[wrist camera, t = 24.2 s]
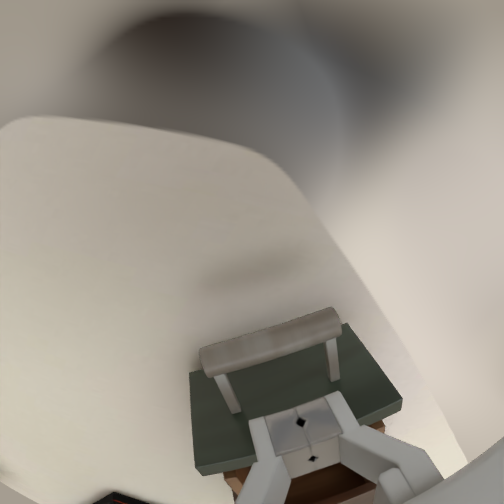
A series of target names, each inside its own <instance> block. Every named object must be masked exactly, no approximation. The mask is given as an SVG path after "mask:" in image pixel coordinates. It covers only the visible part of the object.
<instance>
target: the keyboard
mask: <svg viewBox="0 0 504 504" xmlns="http://www.w3.org/2000/svg"><path fill="white" fill-rule="evenodd" d="M93 504H149V503H146V502H142V501H139V500H136V499H133V498H130V497H127V496H124V495H121V494H119V493H115V492H113V493H111V494H109V495H108V496H106V497H104V498H102V499H101V500H99V501H97V502H95V503H93Z"/></svg>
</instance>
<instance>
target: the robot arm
mask: <svg viewBox="0 0 504 504" xmlns="http://www.w3.org/2000/svg"><path fill="white" fill-rule="evenodd" d="M249 427H250V432H251V436H252V440H253V444H254V448H255V452H256V456H257V460H258V462H255V463H253V465H252V467H251V470H250V472H249V474H248V476H247V478H246V480H245V483H244V485H243V487H242V489H241V491H240V493H239V495H238V497H237V499H236V501H235V503H234V504H284V502H285V499H286V496H287V493H288V490H289V486H290V483H291V479H293V478H296V477H299V476H302V475H304V474H307V473H310V472H313V471H316V470H319V469H322V468H325V467H328V466H330V465H333V464H336V463H339V462H341V463H342V464H343V465H345V466H347V467H348V468H350V469H352V470H353V471H355V472H356V473H358V474H360V475H361V476H363V477H365V478H367V479H368V480H370V481H372V482H373V483H375V484H377V487H376V491H375V496H374V500H373V504H504V437H503V438H502V439H500V440H499V441H498V442H497V443H495V444H494V445H493V446H492V447H491V448H489V449H488V450H487V451H485V452H484V453H483V454H481V455H480V456H479V457H477V458H476V459H474V460H473V461H472V462H470V463H469V464H467V465H466V466H465V467H463V468H462V469H460V470H459V471H457V472H456V473H454V474H453V475H451V476H450V477H448V478H446V479H445V480H444V478H443V477H442V475H441V474H440V472H439V471H438V469H437V468H436V466H435V465H434V463H433V462H432V460H431V459H430V457H429V456H428V455H427V453H426V452H425V450H423V449H421V448H418V447H416V446H413V445H410V444H408V443H406V442H403V441H401V440H398V439H396V438H393V437H391V436H389V435H386V434H384V433H382V432H380V431H377V430H375V429H373V428H370V427H368V426H366V425H362V426H360V425H359V424H358V422H357V420H356V418H355V417H354V415H353V413H352V411H351V410H350V408H349V406H348V404H347V403H346V401H345V399H344V397H343V396H342V394H341V392H339V391H336V392H334V393H331V394H328V395H326V396H324V397H323V396H322V397H320V398H317V399H314V400H312V401H309V402H306V403H303V404H301V405H298V406H295V407H294V408H291V409H287V410H284V411H281V412H277V413H274V414H270V415H266V416H265V417H264V416H263V417H259V418H256V419H252V420H249Z"/></svg>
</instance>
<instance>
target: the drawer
mask: <svg viewBox="0 0 504 504" xmlns="http://www.w3.org/2000/svg"><path fill="white" fill-rule="evenodd" d="M199 356H200V361H201V364H202V367H203V369H201V370H197V371H194V372H190V373H189V382H190V403H191V420H192V435H193V449H194V461H195V468H196V469H197V470H198V471H199V472H200V473H201V475H202V476H207V475H212V474H217V473H222V472H223V476H224V480H225V481H226V482H227V484H228V485H229V486H230V487H231V488H232V489H233V491H234V492H235V493H236V494H237V495H239V493H240V491H241V489H242V487H243V485H244V483H245V480H246V478H247V476H248V474H249V472H250V470H251V467H252V465H253V463H255V462H258V460H257V456H256V452H255V448H254V444H253V440H252V436H251V432H250V427H249V420H252V419H256V418H259V417H263V416H264V417H265V416H266V415H270V414H274V413H277V412H281V411H284V410H287V409H291V408H294V407H295V406H298V405H301V404H303V403H306V402H309V401H312V400H314V399H317V398H320V397H322V396H323V397H324V396H326V395H328V394H331V393H334V392H336V391H339V392H341V394H342V396H343V397H344V399H345V401H346V403H347V404H348V406H349V408H350V410H351V411H352V413H353V415H354V417H355V418H356V420H357V422H358V424H359V425H360V426H362V425H366V426H368V427H370V428H373V429H375V430H377V431H380V432H382V433H384V432H385V425H384V423H383V421H382V419H384V418H386V417H388V416H390V415H392V414H394V413H396V412H398V411H400V410H401V407H402V400H403V398H402V397H401V395H400V394H399V393H398V391H397V390H396V388H395V387H394V386H393V384H392V383H391V382H390V380H389V379H388V377H387V376H386V375H385V373H384V372H383V371H382V369H381V368H380V367H379V365H378V364H377V362H376V361H375V360H374V358H373V357H372V356H371V354H370V353H369V352H368V350H367V349H366V348H365V346H364V345H363V344H362V342H361V341H360V340H359V338H358V337H357V336H356V334H355V333H354V332H353V330H352V329H351V328H350V326H349V325H348V324H347V323H345V324H342V325H341V323H340V320H339V317H338V315H337V313H336V311H335V310H334V308H332V307H329V308H326V309H323V310H320V311H317V312H315V313H312V314H309V315H306V316H303V317H300V318H297V319H294V320H291V321H288V322H285V323H282V324H279V325H276V326H273V327H269V328H266V329H263V330H260V331H257V332H253V333H250V334H247V335H244V336H240V337H237V338H234V339H230V340H227V341H223V342H220V343H216V344H213V345H209V346H206V347H202V348H200V349H199ZM367 482H370V480H368V479H367V478H365V477H363V476H361V475H360V474H358V473H356V472H355V471H353V470H352V469H350V468H348V467H347V466H345V465H343V464H342V463H341V462H339V463H336V464H333V465H330V466H328V467H325V468H322V469H319V470H316V471H313V472H310V473H307V474H304V475H302V476H299V477H296V478H293V479H291V483H290V486H289V490H288V493H287V496H286V499H285V502H284V504H312V503H315V502H318V501H321V500H324V499H326V498H329V497H332V496H335V495H338V494H340V493H343V492H345V491H348V490H350V489H353V488H355V487H358V486H360V485H363V484H365V483H367Z"/></svg>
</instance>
